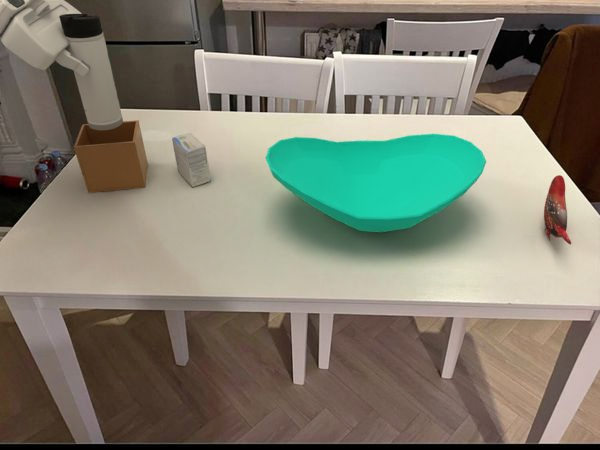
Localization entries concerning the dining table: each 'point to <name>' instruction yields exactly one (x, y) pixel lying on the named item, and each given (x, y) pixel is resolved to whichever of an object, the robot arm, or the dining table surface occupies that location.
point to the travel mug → (93, 70)
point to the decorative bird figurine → (556, 210)
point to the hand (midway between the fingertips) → (94, 65)
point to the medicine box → (191, 159)
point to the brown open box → (112, 157)
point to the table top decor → (377, 177)
